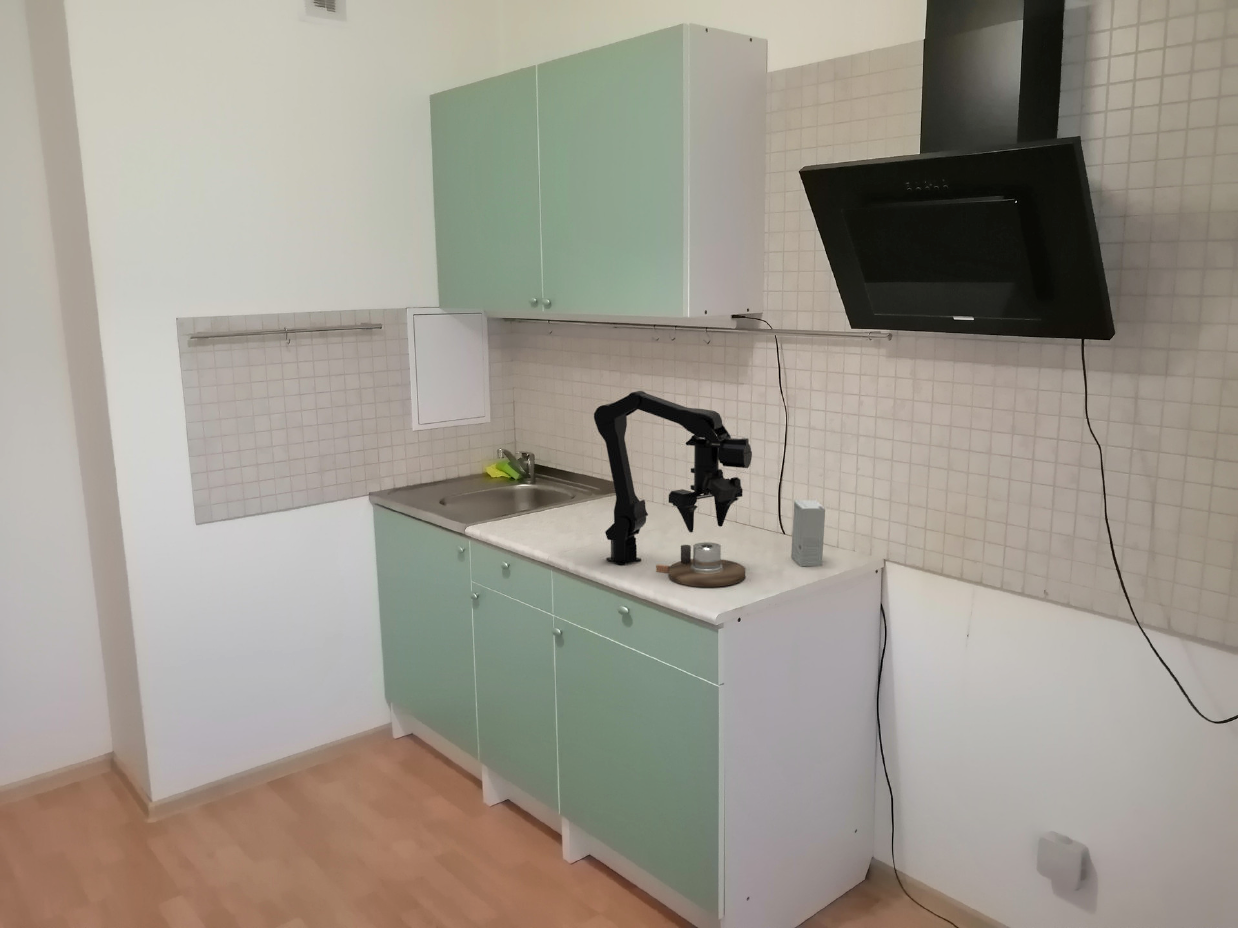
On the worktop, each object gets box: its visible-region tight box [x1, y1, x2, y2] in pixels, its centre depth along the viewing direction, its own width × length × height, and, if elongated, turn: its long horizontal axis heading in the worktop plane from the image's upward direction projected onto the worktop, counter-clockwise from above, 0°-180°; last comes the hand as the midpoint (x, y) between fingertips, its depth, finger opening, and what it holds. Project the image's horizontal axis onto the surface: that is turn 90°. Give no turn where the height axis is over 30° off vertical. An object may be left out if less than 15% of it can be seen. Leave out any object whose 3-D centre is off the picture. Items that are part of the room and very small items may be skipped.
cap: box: [692, 541, 722, 573], centre depth 229 cm, size 7×7×6 cm
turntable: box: [668, 544, 746, 588], centre depth 229 cm, size 18×18×6 cm
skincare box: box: [790, 499, 826, 567], centre depth 239 cm, size 8×6×15 cm
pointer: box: [655, 564, 671, 574], centre depth 234 cm, size 3×1×2 cm, turn 67°
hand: (705, 529), depth 232 cm, fingers open, 9 cm apart
